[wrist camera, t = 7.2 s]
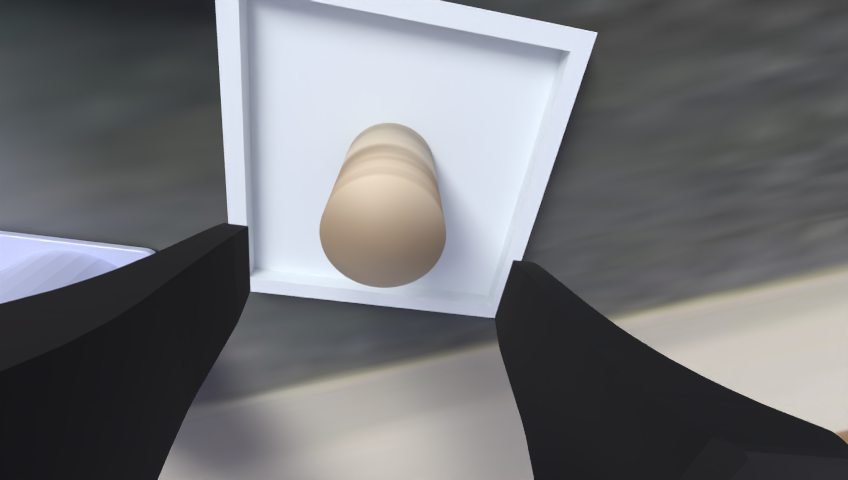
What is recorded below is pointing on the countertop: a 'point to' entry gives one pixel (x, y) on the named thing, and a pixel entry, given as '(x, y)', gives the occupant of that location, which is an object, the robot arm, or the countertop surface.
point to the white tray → (392, 103)
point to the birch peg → (385, 209)
